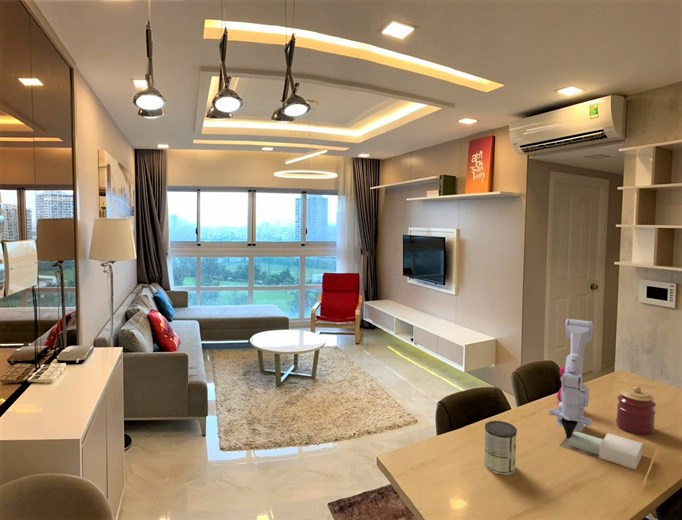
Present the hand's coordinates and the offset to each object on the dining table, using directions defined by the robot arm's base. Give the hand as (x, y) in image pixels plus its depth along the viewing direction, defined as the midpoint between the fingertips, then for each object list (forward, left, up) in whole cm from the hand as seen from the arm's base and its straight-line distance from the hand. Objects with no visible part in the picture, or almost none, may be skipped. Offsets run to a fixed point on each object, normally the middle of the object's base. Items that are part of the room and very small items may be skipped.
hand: (569, 438), depth 167 cm
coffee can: (-12, -35, -2) cm, 37 cm away
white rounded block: (+17, 0, -1) cm, 17 cm away
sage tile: (+7, 0, -1) cm, 7 cm away
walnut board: (+10, 0, -1) cm, 11 cm away
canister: (+17, +30, -2) cm, 34 cm away
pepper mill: (-10, +33, -2) cm, 35 cm away
